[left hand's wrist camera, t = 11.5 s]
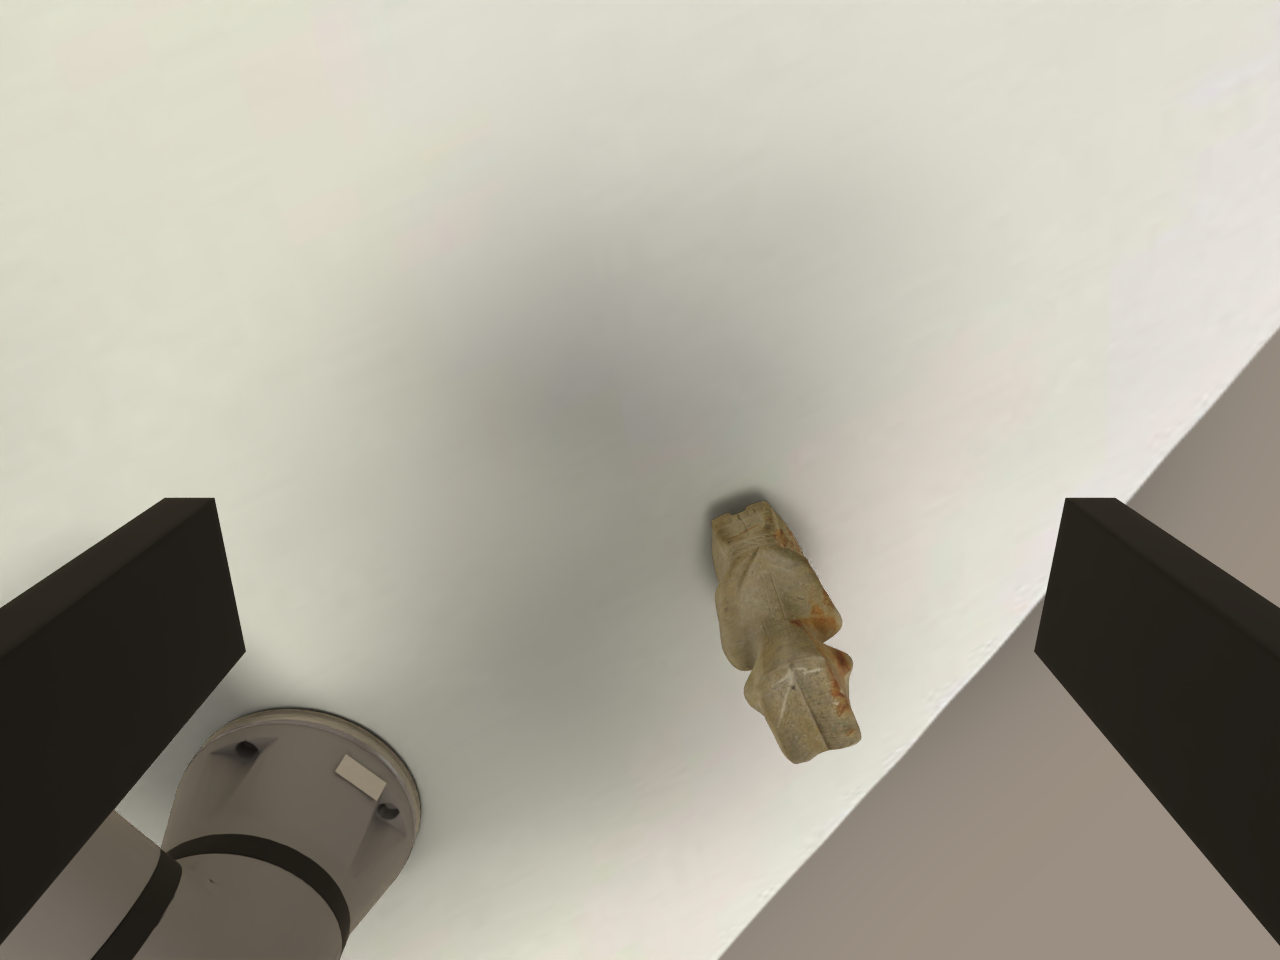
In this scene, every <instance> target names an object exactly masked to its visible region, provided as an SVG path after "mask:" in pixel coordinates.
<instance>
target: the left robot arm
mask: <svg viewBox="0 0 1280 960" xmlns="http://www.w3.org/2000/svg"><path fill="white" fill-rule="evenodd" d="M245 652H246V650H245V645H244V640H243V635H242V630H241V626H240V621H239V616H238V611H237V606H236V601H235V596H234V591H233V586H232V581H231V577H230V572H229V567H228V562H227V557H226V552H225V547H224V542H223V537H222V532H221V528H220V523H219V518H218V513H217V508H216V503H215V498H164V499H162V500H161V501H159V502H158V503H156V504H155V505H153V506H152V507H150V508H149V509H147V510H146V511H144V512H143V513H141V514H140V515H139V516H137V517H136V518H134V519H133V520H131V521H130V522H128V523H127V524H125V525H124V526H122V527H121V528H119V529H118V530H116V531H115V532H113V533H112V534H110V535H109V536H107V537H106V538H104V539H103V540H101V541H100V542H98V543H97V544H95V545H94V546H92V547H91V548H89V549H88V550H86V551H85V552H83V553H82V554H80V555H79V556H77V557H76V558H74V559H73V560H71V561H70V562H68V563H67V564H65V565H64V566H62V567H61V568H59V569H58V570H56V571H55V572H53V573H52V574H50V575H49V576H48V577H46V578H45V579H43V580H42V581H40V582H39V583H37V584H36V585H34V586H33V587H31V588H30V589H28V590H27V591H25V592H24V593H22V594H21V595H19V596H18V597H16V598H15V599H13V600H12V601H10V602H9V603H7V604H6V605H4V606H3V607H1V608H0V960H340V957H341V955H342V952H343V950H344V947H345V945H346V942H347V939H348V937H349V935H350V933H351V932H352V931H353V930H354V928H355V927H356V926H357V925H358V924H359V922H360V921H361V920H362V919H363V918H364V916H365V915H366V914H367V913H368V912H369V910H370V909H371V908H372V907H373V905H374V904H375V903H376V902H377V901H378V899H379V898H380V897H381V896H382V895H383V893H384V892H385V891H386V890H387V889H388V887H389V886H390V885H391V884H392V882H393V881H394V880H395V879H396V878H397V876H398V875H399V873H400V871H401V870H402V868H403V866H404V865H405V863H406V861H407V859H408V858H409V855H410V853H411V850H412V847H413V844H414V842H415V839H416V836H417V833H418V829H419V825H420V816H421V815H420V801H419V796H418V792H417V789H416V786H415V783H414V781H413V779H412V777H411V775H410V773H409V771H408V770H407V768H406V767H405V765H404V764H403V762H402V761H401V760H400V759H399V757H398V756H397V755H396V754H395V753H394V752H393V751H392V750H391V749H390V748H389V747H388V746H387V745H386V744H384V743H383V742H382V741H381V740H380V739H378V738H377V737H375V736H374V735H373V734H371V733H370V732H368V731H366V730H365V729H363V728H361V727H359V726H357V725H355V724H353V723H351V722H349V721H346V720H344V719H341V718H339V717H336V716H332V715H329V714H325V713H321V712H317V711H310V710H303V709H275V710H267V711H261V712H256V713H253V714H249V715H246V716H244V717H241V718H238V719H236V720H234V721H232V722H230V723H228V724H227V725H225V726H224V727H222V728H221V729H219V730H218V731H217V732H216V733H214V734H213V735H212V736H211V737H210V738H209V739H208V740H207V741H206V743H205V744H204V745H203V746H202V748H201V749H200V750H199V752H198V753H197V754H196V755H195V757H194V758H193V759H192V761H191V762H190V764H189V765H188V767H187V769H186V771H185V773H184V775H183V777H182V779H181V781H180V783H179V786H178V788H177V792H176V795H175V799H174V802H173V806H172V810H171V813H170V817H169V820H168V824H167V828H166V831H165V835H164V838H163V842H162V846H161V848H160V847H158V846H157V845H156V844H155V843H154V842H152V841H151V840H150V839H149V838H147V837H146V836H145V835H144V834H143V833H141V832H140V831H139V830H138V829H136V828H135V827H134V826H133V825H131V824H130V823H129V822H128V821H127V820H125V819H124V818H123V817H122V816H120V815H119V814H118V813H117V812H116V811H114V809H115V808H116V806H117V805H118V804H119V803H120V802H121V800H122V799H123V798H124V797H125V796H126V794H127V793H128V792H129V791H130V790H131V788H132V787H133V786H134V785H135V784H136V782H137V781H138V780H139V779H140V778H141V776H142V775H143V774H144V773H145V772H146V770H147V769H148V768H149V767H150V766H151V764H152V763H153V762H154V761H155V760H156V758H157V757H158V756H159V755H160V754H161V752H162V751H163V750H164V749H165V748H166V746H167V745H168V744H169V743H170V742H171V740H172V739H173V738H174V737H175V736H176V734H177V733H178V732H179V731H180V730H181V728H182V727H183V726H184V725H185V724H186V722H187V721H188V720H189V719H190V718H191V717H192V715H193V714H194V713H195V712H196V711H197V709H198V708H199V707H200V706H201V705H202V703H203V702H204V701H205V700H206V699H207V697H208V696H209V695H210V694H211V693H212V691H213V690H214V689H215V688H216V687H217V685H218V684H219V683H220V682H221V681H222V679H223V678H224V677H225V676H226V675H227V673H228V672H229V671H230V670H231V669H232V667H233V666H234V665H235V664H236V663H237V661H238V660H239V659H240V658H241V657H242V655H243V654H244V653H245ZM1034 652H1035V653H1036V654H1037V655H1038V657H1039V658H1040V659H1041V660H1042V661H1043V663H1044V664H1045V665H1046V666H1047V667H1048V669H1049V670H1050V671H1051V672H1052V673H1053V675H1054V676H1055V677H1056V678H1057V679H1058V681H1059V682H1060V683H1061V684H1062V685H1063V687H1064V688H1065V689H1066V690H1067V691H1068V693H1069V694H1070V695H1071V696H1072V697H1073V699H1074V700H1075V701H1076V702H1077V703H1078V705H1079V706H1080V707H1081V708H1082V709H1083V711H1084V712H1085V713H1086V714H1087V715H1088V716H1089V718H1090V719H1091V720H1092V721H1093V722H1094V724H1095V725H1096V726H1097V727H1098V728H1099V730H1100V731H1101V732H1102V733H1103V734H1104V736H1105V737H1106V738H1107V739H1108V740H1109V742H1110V743H1111V744H1112V745H1113V746H1114V748H1115V749H1116V750H1117V751H1118V752H1119V754H1120V755H1121V756H1122V757H1123V758H1124V760H1125V761H1126V762H1127V763H1128V764H1129V766H1130V767H1131V768H1132V769H1133V770H1134V772H1135V773H1136V774H1137V775H1138V776H1139V778H1140V779H1141V780H1142V781H1143V782H1144V783H1145V785H1146V786H1147V787H1148V788H1149V790H1150V791H1151V792H1152V793H1153V794H1154V795H1155V797H1156V798H1157V799H1158V800H1159V802H1160V803H1161V804H1162V805H1163V806H1164V808H1165V809H1166V810H1167V811H1168V812H1169V814H1170V815H1171V816H1172V817H1173V818H1174V820H1175V821H1176V822H1177V823H1178V824H1179V825H1180V827H1181V828H1182V829H1183V830H1184V831H1185V833H1186V834H1187V835H1188V836H1189V837H1190V839H1191V840H1192V841H1193V842H1194V843H1195V845H1196V846H1197V847H1198V848H1199V849H1200V851H1201V852H1202V853H1203V854H1204V855H1205V857H1206V858H1207V859H1208V860H1209V861H1210V863H1211V864H1212V865H1213V866H1214V867H1215V869H1216V870H1217V871H1218V872H1219V873H1220V875H1221V876H1222V877H1223V878H1224V879H1225V881H1226V882H1227V883H1228V884H1229V885H1230V887H1231V888H1232V889H1233V890H1234V891H1235V893H1236V894H1237V895H1238V896H1239V897H1240V899H1241V900H1242V901H1243V902H1244V903H1245V905H1246V906H1247V907H1248V908H1249V909H1250V910H1251V912H1252V913H1253V914H1254V915H1255V917H1256V918H1257V919H1258V920H1259V921H1260V923H1261V924H1262V925H1263V926H1264V927H1265V929H1266V930H1267V931H1268V932H1269V933H1270V934H1271V936H1272V937H1273V938H1274V939H1275V940H1276V942H1277V943H1278V944H1279V945H1280V608H1279V607H1277V606H1276V605H1274V604H1273V603H1271V602H1270V601H1268V600H1267V599H1265V598H1264V597H1262V596H1261V595H1259V594H1258V593H1256V592H1255V591H1253V590H1252V589H1250V588H1249V587H1247V586H1246V585H1244V584H1243V583H1241V582H1240V581H1238V580H1237V579H1235V578H1234V577H1232V576H1231V575H1230V574H1228V573H1227V572H1225V571H1224V570H1222V569H1221V568H1219V567H1218V566H1216V565H1215V564H1213V563H1212V562H1210V561H1209V560H1207V559H1206V558H1204V557H1203V556H1201V555H1200V554H1198V553H1197V552H1195V551H1194V550H1192V549H1191V548H1189V547H1188V546H1186V545H1185V544H1183V543H1182V542H1180V541H1179V540H1177V539H1176V538H1174V537H1173V536H1171V535H1170V534H1168V533H1167V532H1165V531H1164V530H1162V529H1161V528H1159V527H1158V526H1156V525H1155V524H1153V523H1152V522H1150V521H1149V520H1147V519H1146V518H1144V517H1143V516H1141V515H1140V514H1139V513H1137V512H1136V511H1134V510H1132V509H1131V508H1129V507H1128V506H1127V505H1125V504H1124V503H1122V502H1121V501H1119V500H1118V499H1116V498H1065V503H1064V508H1063V513H1062V518H1061V523H1060V528H1059V532H1058V537H1057V542H1056V547H1055V552H1054V557H1053V562H1052V567H1051V572H1050V577H1049V581H1048V586H1047V591H1046V596H1045V601H1044V606H1043V611H1042V616H1041V621H1040V626H1039V630H1038V635H1037V640H1036V645H1035V650H1034Z"/></svg>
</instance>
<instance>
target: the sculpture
mask: <svg viewBox="0 0 1280 960" xmlns="http://www.w3.org/2000/svg"><path fill="white" fill-rule="evenodd" d="M712 557H713V562H714V568H715V572H716V575H717V579H718V581H719V586H718V588H717V590H716V593H715V603H716V609H717V615H718V620H719V627H720V636H721V643H722V648H723V651H724V654H725V655H726V657H727V659H728V660H729V662H730V663H731V664H732V665H733V666H734V667H735V668H737V669H739V670H741V671H749V670H752V671H751V673H750V676H749V678H748V680H747V682H746V684H745V687H744V695H745V698H746V700H747V702H748V703H749V705H750V706H751V707H753V708H754V709H755V710H757V711H758V712H760V713H761V714H762V715H764V716H765V719H766V721H767V723H768V725H769V727H770V729H771V730H772V732H773V734H774V736H775V739H776V741H777V743H778V745H779V747H780V749H781V750H782V752H783V754H784V755H785V756H786V757H787V758H788V759H789V760H790V761H791V762H792V763H794V764H798V763H802V762H807V761H809V760H811V759H812V758H814V757H815V756H816V755H818V754H820V753H822V752H824V751H828V750H835V749H841V748H845V747H849V746H852V745H854V744H857V743H858V742H859V741H860V740H861V732H860V729H859V726H858V723H857V721H856V719H855V716H854V714H853V712H852V709H851V706H850V700H849V676H850V674H851V671H852V668H853V661H852V659H851V657H850V656H849V655H848V654H846V653H844V652H842V651H840V650H838V649H835V648H833V647H830V646H828V645H826V644H824V642H825V641H827V640H828V639H830V638H831V637H833V636H834V635H835V634H836V633H837V632H838V631H839V630H840V629H841V627H842V618H841V616H840V614H839V612H838V611H837V609H836V607H835V606H834V604H833V603H832V601H831V599H830V598H829V596H828V594H827V593H826V591H825V590H824V588H823V586H822V585H821V583H820V581H819V579H818V577H817V575H816V573H815V572H814V570H813V569H812V568H811V566H810V564H809V562H808V560H807V559H806V558H805V557H804V555H803V553H802V551H801V549H800V547H799V545H798V543H797V541H796V539H795V537H794V536H793V534H792V533H791V531H790V530H789V528H788V527H787V525H786V524H785V523H784V521H783V520H782V519H781V518H780V517H779V516H778V515H777V514H776V513H775V511H774V510H773V509H772V507H771V506H770V505H769V503H768V502H766V501H761V502H757V503H753V504H750V505H748V506H747V507H746V509H745V511H743V512H740V513H737V514H734V515H732V514H730V513H726V514H723V515H721V516H719V517H717V518H715V519H713V520H712Z"/></svg>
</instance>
